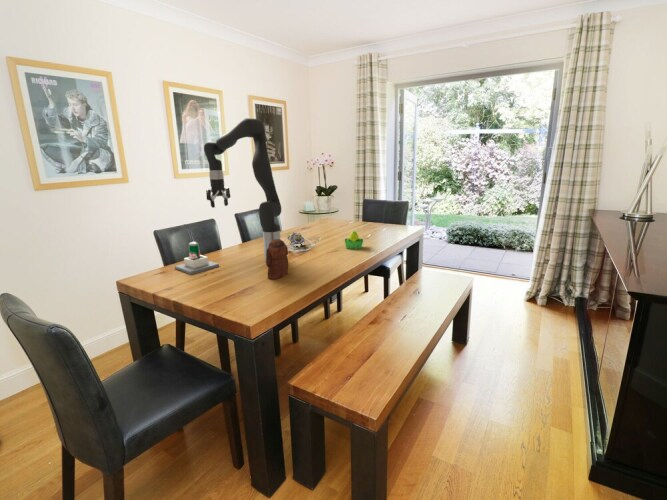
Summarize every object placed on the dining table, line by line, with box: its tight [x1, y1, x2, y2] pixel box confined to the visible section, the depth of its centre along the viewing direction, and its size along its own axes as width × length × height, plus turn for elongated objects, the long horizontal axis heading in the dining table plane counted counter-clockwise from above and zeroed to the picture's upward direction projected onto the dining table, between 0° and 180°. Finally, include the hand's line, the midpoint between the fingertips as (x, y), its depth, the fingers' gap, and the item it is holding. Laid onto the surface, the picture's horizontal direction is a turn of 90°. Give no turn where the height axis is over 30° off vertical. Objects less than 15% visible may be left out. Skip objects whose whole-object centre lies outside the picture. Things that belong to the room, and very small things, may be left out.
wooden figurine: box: [265, 238, 289, 280], centre depth 167 cm, size 12×6×18 cm, turn 151°
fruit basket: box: [344, 230, 364, 250], centre depth 215 cm, size 11×9×11 cm
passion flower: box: [287, 231, 307, 246], centre depth 221 cm, size 11×11×12 cm
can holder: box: [174, 254, 220, 275], centre depth 184 cm, size 16×16×6 cm
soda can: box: [188, 241, 201, 260], centre depth 182 cm, size 5×5×12 cm
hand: (219, 206), depth 204 cm, fingers open, 8 cm apart
